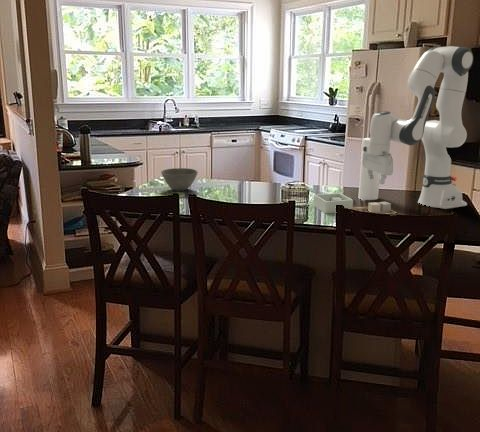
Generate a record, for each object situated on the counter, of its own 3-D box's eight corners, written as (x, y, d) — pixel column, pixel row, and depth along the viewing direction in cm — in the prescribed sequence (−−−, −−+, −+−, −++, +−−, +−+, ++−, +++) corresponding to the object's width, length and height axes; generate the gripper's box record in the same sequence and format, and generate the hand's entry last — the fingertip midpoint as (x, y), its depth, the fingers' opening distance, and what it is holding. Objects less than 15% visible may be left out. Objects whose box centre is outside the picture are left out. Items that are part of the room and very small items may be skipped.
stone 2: (375, 210, 232) (376, 202, 231) (379, 213, 228) (380, 204, 227) (367, 211, 231) (368, 202, 230) (371, 213, 227) (372, 205, 226)
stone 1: (338, 205, 241) (339, 197, 240) (341, 207, 237) (342, 199, 236) (330, 205, 240) (331, 197, 239) (333, 208, 236) (334, 199, 235)
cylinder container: (363, 195, 262) (368, 136, 254) (381, 198, 256) (386, 138, 248) (354, 199, 255) (359, 138, 247) (372, 202, 249) (377, 140, 241)
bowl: (196, 194, 261) (196, 175, 258) (159, 194, 261) (158, 174, 259) (199, 186, 279) (199, 167, 276) (165, 185, 279) (164, 167, 277)
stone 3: (384, 210, 233) (385, 201, 232) (390, 212, 230) (391, 203, 229) (377, 210, 232) (378, 202, 231) (382, 213, 228) (383, 204, 227)
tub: (339, 205, 243) (339, 193, 242) (352, 213, 231) (353, 199, 229) (313, 207, 240) (313, 194, 238) (325, 214, 228) (325, 201, 226)
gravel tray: (382, 209, 237) (382, 205, 237) (396, 216, 226) (397, 212, 226) (350, 211, 233) (351, 207, 233) (363, 219, 222) (364, 215, 222)
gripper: (398, 153, 213) (395, 186, 217) (373, 146, 232) (371, 176, 236) (384, 154, 211) (382, 187, 215) (360, 146, 230) (358, 177, 234)
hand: (376, 181), depth 226 cm, fingers open, 8 cm apart
